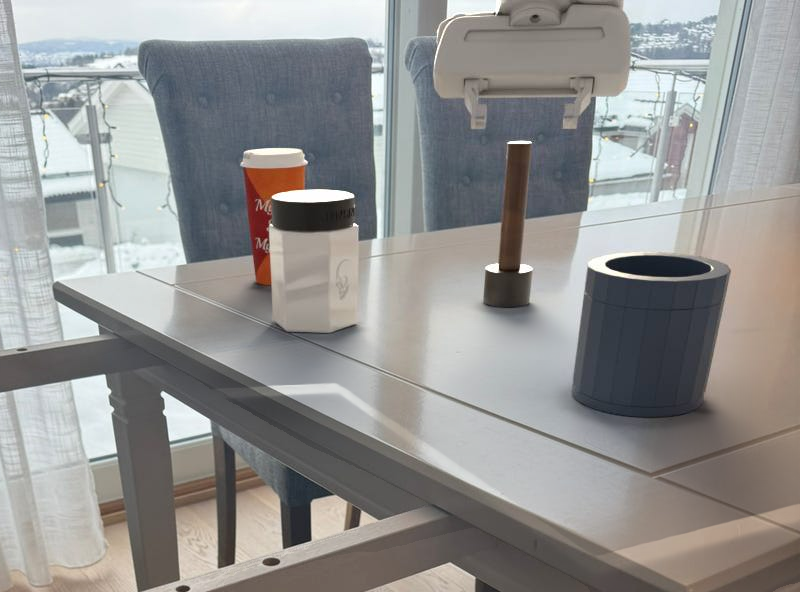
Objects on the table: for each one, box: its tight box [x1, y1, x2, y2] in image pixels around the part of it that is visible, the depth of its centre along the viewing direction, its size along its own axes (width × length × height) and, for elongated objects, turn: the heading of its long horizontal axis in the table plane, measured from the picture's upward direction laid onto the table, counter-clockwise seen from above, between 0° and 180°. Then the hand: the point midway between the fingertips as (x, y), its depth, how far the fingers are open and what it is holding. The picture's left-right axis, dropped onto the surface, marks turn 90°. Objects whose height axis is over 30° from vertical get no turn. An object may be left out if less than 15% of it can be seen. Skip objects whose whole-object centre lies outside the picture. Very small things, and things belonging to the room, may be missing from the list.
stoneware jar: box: [571, 251, 732, 418], centre depth 73 cm, size 10×10×10 cm
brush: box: [482, 140, 533, 308], centre depth 98 cm, size 5×5×16 cm
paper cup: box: [239, 147, 309, 287], centre depth 109 cm, size 8×8×14 cm
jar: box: [269, 189, 360, 334], centre depth 93 cm, size 9×8×12 cm
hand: (523, 124), depth 97 cm, fingers open, 8 cm apart
